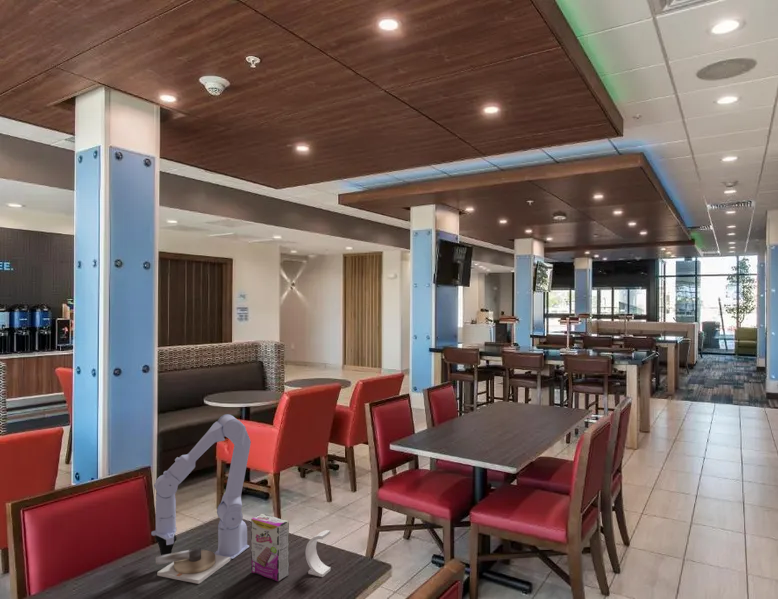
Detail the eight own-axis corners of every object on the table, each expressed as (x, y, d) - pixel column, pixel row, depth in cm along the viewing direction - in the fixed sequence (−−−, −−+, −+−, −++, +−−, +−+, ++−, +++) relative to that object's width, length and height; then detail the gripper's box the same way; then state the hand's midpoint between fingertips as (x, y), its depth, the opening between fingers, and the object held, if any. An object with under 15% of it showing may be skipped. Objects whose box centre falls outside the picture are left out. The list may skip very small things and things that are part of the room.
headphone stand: (322, 577, 158) (322, 536, 158) (305, 573, 161) (305, 532, 161) (330, 570, 162) (330, 530, 162) (314, 566, 165) (313, 527, 165)
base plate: (191, 553, 174) (191, 549, 174) (230, 560, 169) (230, 556, 169) (157, 575, 160) (157, 571, 160) (198, 583, 155) (198, 579, 155)
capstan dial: (212, 551, 172) (212, 538, 172) (218, 568, 161) (217, 553, 161) (155, 563, 165) (155, 549, 165) (156, 581, 154) (156, 566, 154)
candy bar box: (250, 573, 161) (250, 518, 161) (262, 566, 165) (261, 512, 165) (278, 582, 155) (278, 526, 155) (289, 575, 159) (289, 520, 160)
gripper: (147, 510, 169) (148, 553, 169) (155, 526, 156) (155, 572, 156) (171, 505, 172) (171, 548, 172) (181, 520, 160) (181, 566, 160)
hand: (165, 559), depth 165 cm, fingers closed
